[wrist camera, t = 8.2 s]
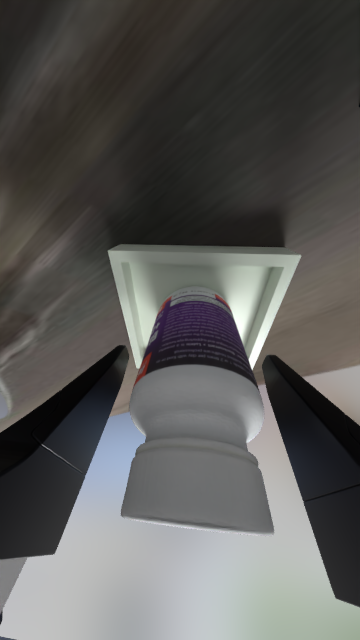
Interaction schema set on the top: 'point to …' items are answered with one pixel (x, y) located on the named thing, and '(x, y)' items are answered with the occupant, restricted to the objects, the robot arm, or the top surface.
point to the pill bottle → (197, 423)
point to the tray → (202, 285)
